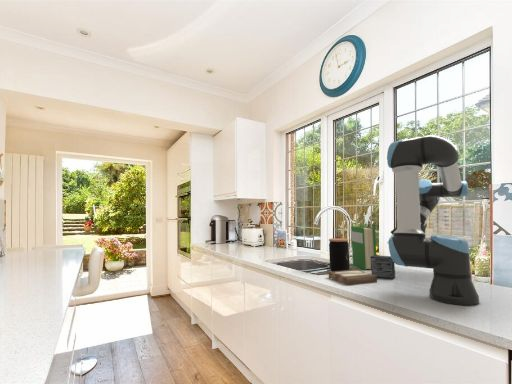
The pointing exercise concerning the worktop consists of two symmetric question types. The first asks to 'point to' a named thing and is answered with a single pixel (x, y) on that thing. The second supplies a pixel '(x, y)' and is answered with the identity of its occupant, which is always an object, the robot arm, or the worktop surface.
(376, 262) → the small box
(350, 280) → the walnut stand
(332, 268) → the coffee jar
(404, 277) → the worktop surface
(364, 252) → the hardback book
